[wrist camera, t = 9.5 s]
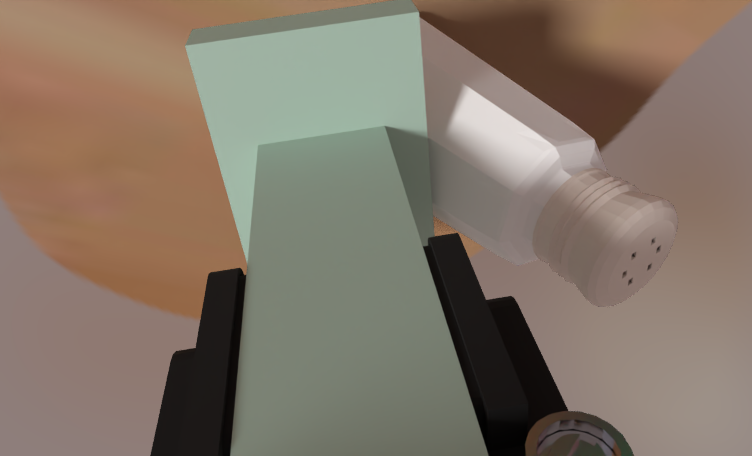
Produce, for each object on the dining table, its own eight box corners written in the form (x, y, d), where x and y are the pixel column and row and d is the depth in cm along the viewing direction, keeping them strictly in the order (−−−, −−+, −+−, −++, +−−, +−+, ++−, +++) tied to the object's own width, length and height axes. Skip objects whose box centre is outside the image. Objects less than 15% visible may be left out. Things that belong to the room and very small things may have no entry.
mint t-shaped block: (409, -3, 14) (638, 336, 5) (430, 270, 19) (571, 716, 9) (192, 29, 14) (8, 443, 5) (265, 297, 19) (244, 778, 9)
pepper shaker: (325, 184, 22) (551, 395, 15) (279, 47, 18) (552, 240, 11) (444, 115, 24) (702, 276, 16) (424, -24, 20) (747, 103, 13)
